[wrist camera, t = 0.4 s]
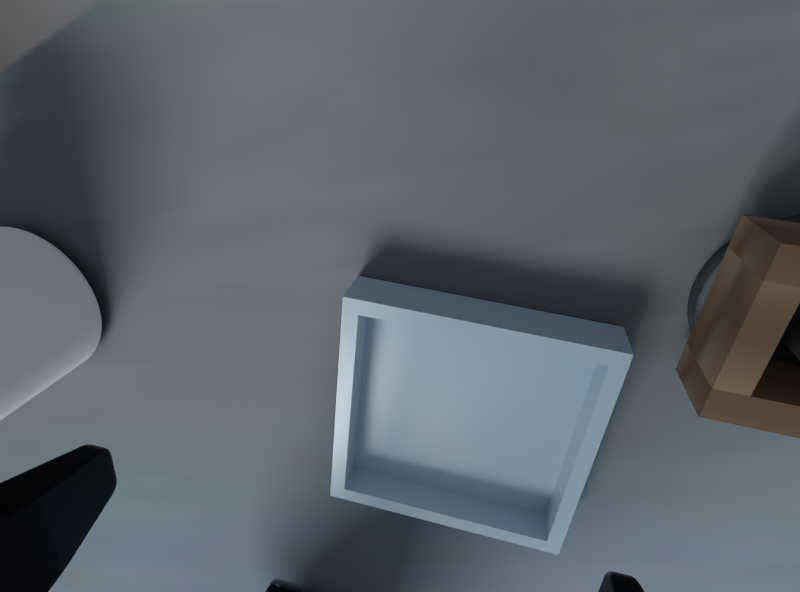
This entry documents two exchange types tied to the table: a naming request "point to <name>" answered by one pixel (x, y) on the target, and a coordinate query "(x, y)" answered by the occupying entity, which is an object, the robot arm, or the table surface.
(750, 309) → the ring
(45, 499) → the robot arm
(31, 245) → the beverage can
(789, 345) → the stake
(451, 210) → the table surface
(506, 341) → the tray
